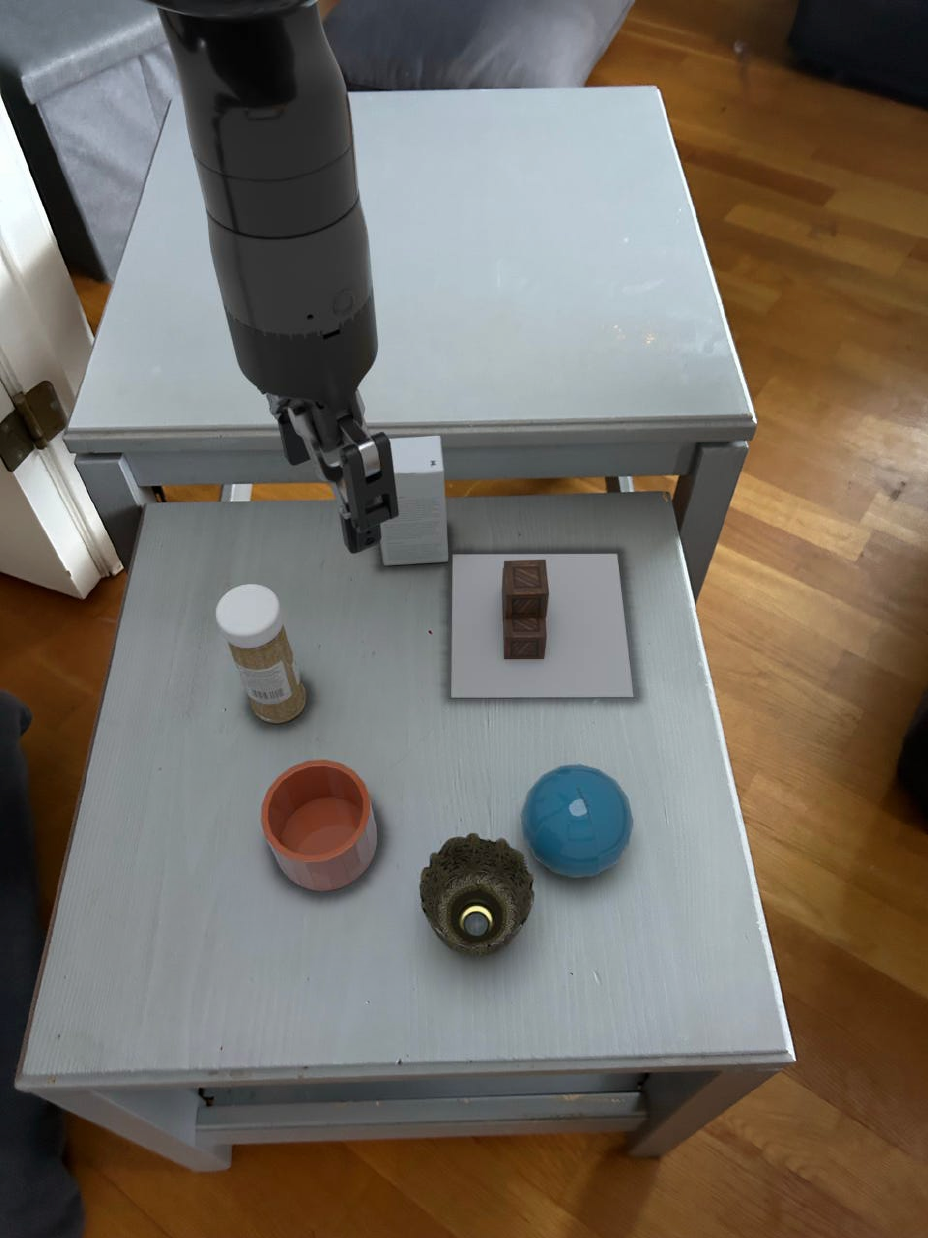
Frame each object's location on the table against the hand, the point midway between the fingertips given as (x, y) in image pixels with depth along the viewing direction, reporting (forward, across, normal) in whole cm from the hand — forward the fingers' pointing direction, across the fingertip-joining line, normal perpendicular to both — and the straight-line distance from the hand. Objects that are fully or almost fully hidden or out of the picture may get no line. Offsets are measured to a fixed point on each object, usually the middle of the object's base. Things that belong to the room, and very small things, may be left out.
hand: (332, 500), depth 60 cm
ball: (+23, +20, +7) cm, 31 cm away
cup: (+23, +22, -2) cm, 32 cm away
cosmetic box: (+23, -10, +11) cm, 27 cm away
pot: (+23, +11, -9) cm, 27 cm away
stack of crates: (+23, +2, +16) cm, 28 cm away
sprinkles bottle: (+23, -2, -7) cm, 24 cm away
